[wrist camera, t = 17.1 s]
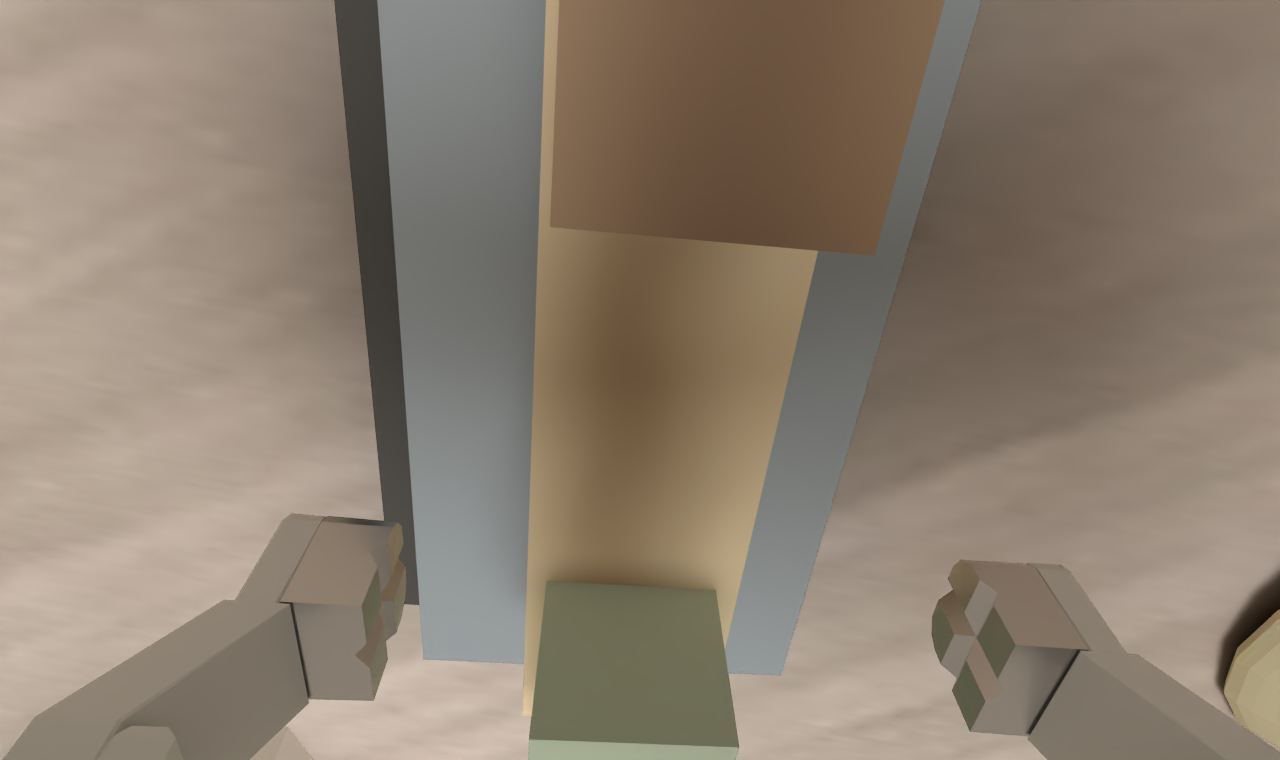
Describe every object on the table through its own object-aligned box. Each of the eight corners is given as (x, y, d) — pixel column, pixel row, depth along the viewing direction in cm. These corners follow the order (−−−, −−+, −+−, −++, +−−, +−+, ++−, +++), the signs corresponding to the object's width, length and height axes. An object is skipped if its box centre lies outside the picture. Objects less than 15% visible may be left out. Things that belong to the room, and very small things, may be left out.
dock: (1006, -308, 15) (1088, -358, 12) (765, 607, 28) (780, 675, 26) (339, -405, 14) (276, -481, 11) (413, 589, 27) (392, 657, 25)
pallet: (845, -162, 14) (922, -195, 10) (694, 608, 24) (707, 722, 20) (571, -198, 13) (553, -244, 10) (536, 600, 23) (522, 714, 20)
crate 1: (715, 590, 18) (739, 747, 14) (692, 698, 20) (708, 859, 16) (546, 581, 17) (528, 739, 14) (540, 691, 19) (524, 853, 16)
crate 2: (864, -112, 11) (981, -134, 7) (805, 168, 13) (874, 256, 9) (583, -148, 10) (566, -188, 7) (568, 146, 12) (549, 227, 9)
